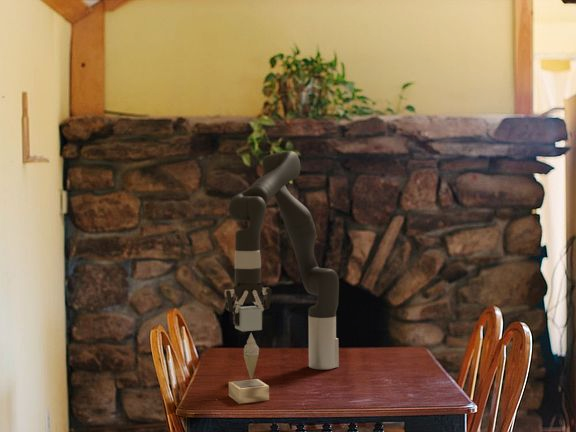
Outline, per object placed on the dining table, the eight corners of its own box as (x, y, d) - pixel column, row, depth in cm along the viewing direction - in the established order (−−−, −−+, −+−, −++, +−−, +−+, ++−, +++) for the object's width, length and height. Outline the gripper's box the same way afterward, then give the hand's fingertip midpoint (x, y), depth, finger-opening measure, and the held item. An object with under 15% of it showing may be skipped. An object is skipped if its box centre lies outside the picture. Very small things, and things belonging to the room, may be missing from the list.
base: (258, 392, 226) (257, 378, 226) (269, 400, 218) (269, 385, 218) (228, 395, 223) (228, 381, 223) (239, 403, 214) (238, 388, 214)
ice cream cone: (261, 378, 243) (261, 331, 243) (255, 382, 239) (255, 334, 238) (246, 377, 245) (246, 330, 245) (240, 381, 240) (240, 333, 240)
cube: (254, 326, 224) (254, 306, 224) (261, 329, 218) (261, 308, 218) (235, 328, 221) (234, 307, 221) (241, 331, 216) (241, 310, 216)
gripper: (266, 264, 226) (267, 321, 226) (219, 266, 220) (220, 324, 221) (276, 266, 219) (276, 325, 219) (227, 268, 213) (228, 329, 214)
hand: (248, 324), depth 220 cm, fingers closed on cube, 6 cm apart
